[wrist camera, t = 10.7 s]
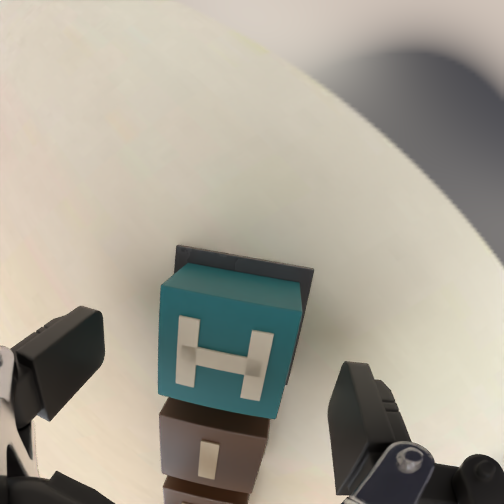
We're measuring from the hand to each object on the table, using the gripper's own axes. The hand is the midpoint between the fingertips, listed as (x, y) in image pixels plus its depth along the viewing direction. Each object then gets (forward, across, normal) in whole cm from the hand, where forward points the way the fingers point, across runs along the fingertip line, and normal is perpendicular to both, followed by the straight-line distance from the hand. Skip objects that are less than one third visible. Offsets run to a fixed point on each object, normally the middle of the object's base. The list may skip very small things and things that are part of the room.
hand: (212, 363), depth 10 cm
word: (+4, 0, +9) cm, 10 cm away
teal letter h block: (+4, 0, 0) cm, 4 cm away
